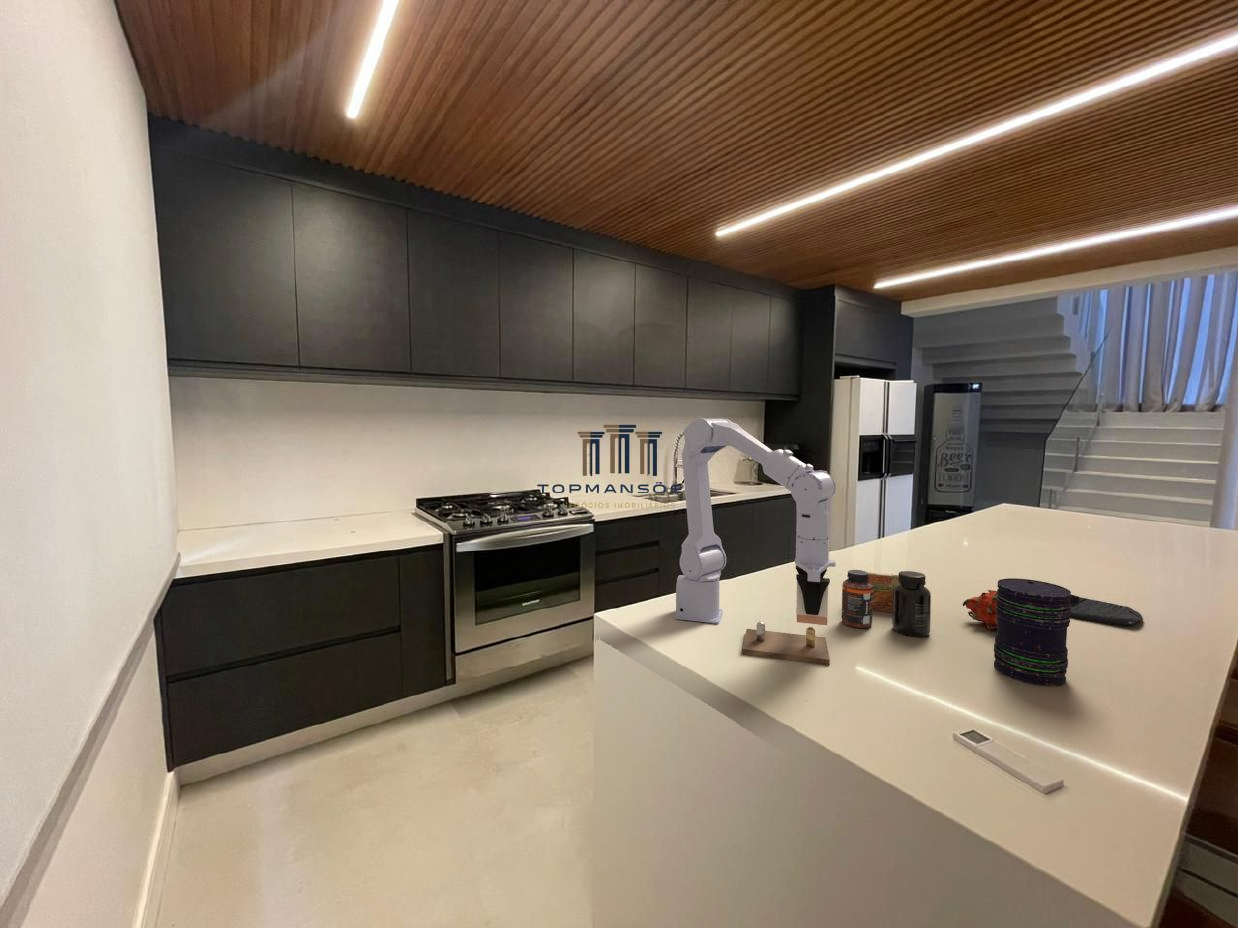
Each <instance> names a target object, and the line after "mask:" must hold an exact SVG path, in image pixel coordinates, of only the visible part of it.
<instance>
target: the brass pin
mask: <svg viewBox="0 0 1238 928" xmlns="http://www.w3.org/2000/svg"><path fill="white" fill-rule="evenodd" d="M805 630H806V631H805V635H806V646H807V647H809V648H814V647H815V636H816V630H815V628H814V627H813V626H812V627H811V626H808V627H807V628H806V629H805Z"/></svg>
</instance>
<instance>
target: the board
mask: <svg viewBox="0 0 1238 928" xmlns="http://www.w3.org/2000/svg"><path fill="white" fill-rule="evenodd" d="M756 633H757V629H754V628H753V629H752V628H746V630H745V635H744V636H745V637H744V640H743V646H742V655H746V656H754V657H763V658H771V659H777V660H778V659H779V660H787V661H794V662H800V663H801V662H802V663H809V664H818V665H825V666H830V664H831V663H830V661H831V660H830V654H829V650H828V648H829V647H828V643H827V638H826V637H825V636H824V637H823V636H817V635H815V647H814V648H809V647H807V646H806V634H796V633H790V632H789V633H788V632H778V631H771V630H770V631H769V630H765V641H764V642H759V641H757V640H756Z"/></svg>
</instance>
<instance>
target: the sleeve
mask: <svg viewBox="0 0 1238 928" xmlns="http://www.w3.org/2000/svg"><path fill="white" fill-rule="evenodd" d="M795 601H796V602H795V603H796V605H795V606H796V609H795V613H796V615H795V616H796V623H801V624H802V623H803V624H812V625H819V626H828V616H829V615H828V610H829V608H828V607H829V605H828V604H829V602H828V601H829V586H828V587H827V588H826V590H825V592H824V595H823V598H822V602H821V607H820V611H819V614H818V615H809V614H806V612H805V608H804V601H803V595H802V591H801V588H800V586H799V584H798V582H797V581H796V599H795Z"/></svg>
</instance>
